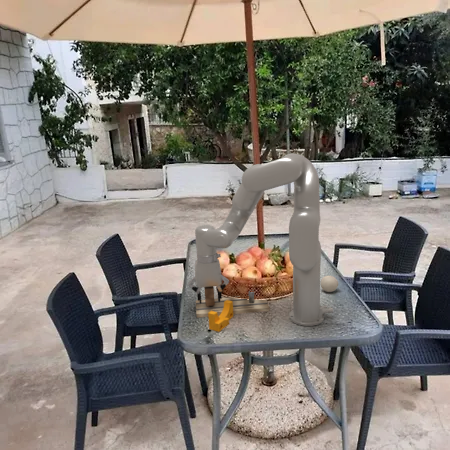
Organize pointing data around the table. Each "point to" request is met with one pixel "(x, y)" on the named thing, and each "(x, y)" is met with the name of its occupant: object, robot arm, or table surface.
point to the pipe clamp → (221, 317)
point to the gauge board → (238, 306)
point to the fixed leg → (251, 297)
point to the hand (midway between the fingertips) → (209, 300)
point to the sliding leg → (209, 296)
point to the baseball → (329, 283)
